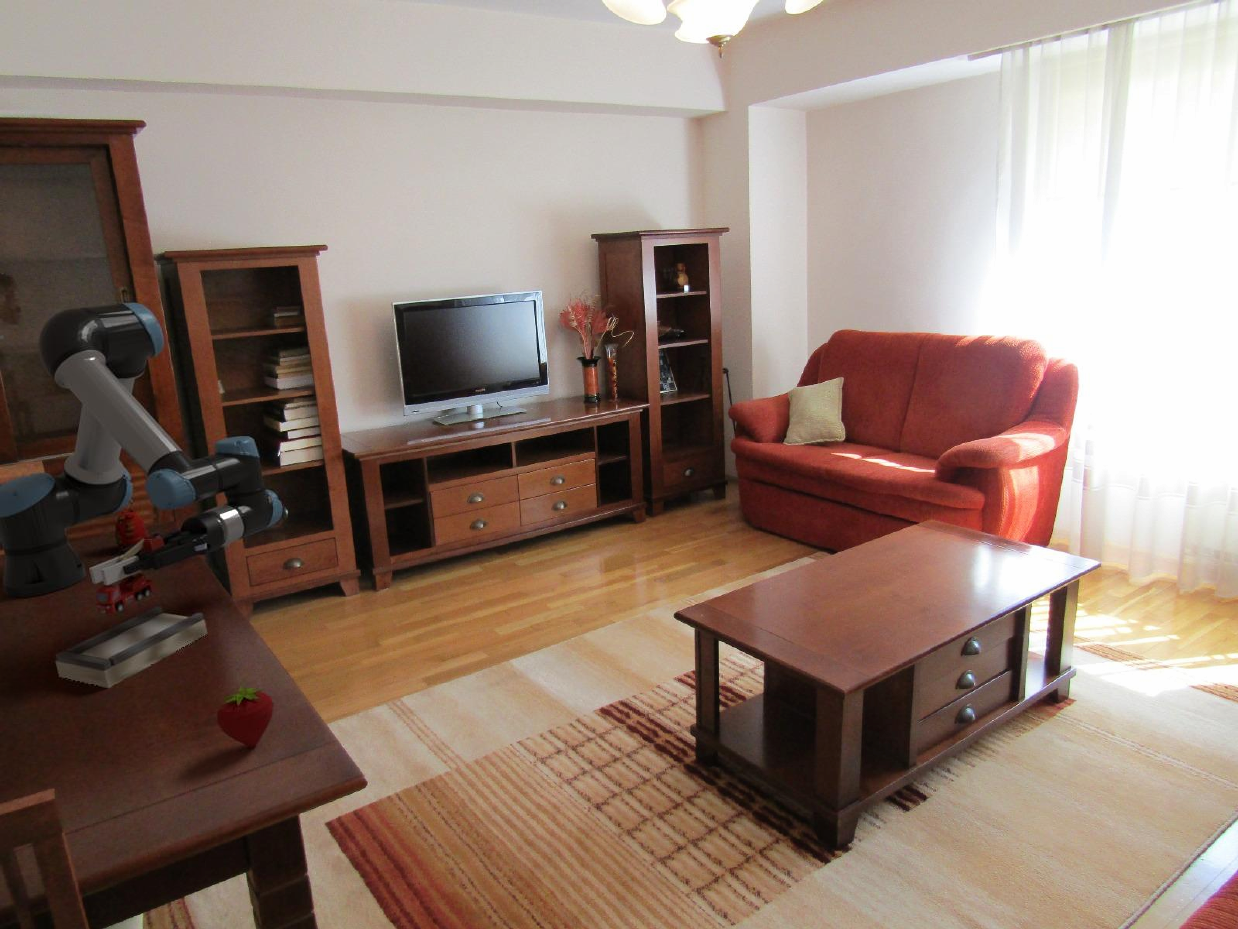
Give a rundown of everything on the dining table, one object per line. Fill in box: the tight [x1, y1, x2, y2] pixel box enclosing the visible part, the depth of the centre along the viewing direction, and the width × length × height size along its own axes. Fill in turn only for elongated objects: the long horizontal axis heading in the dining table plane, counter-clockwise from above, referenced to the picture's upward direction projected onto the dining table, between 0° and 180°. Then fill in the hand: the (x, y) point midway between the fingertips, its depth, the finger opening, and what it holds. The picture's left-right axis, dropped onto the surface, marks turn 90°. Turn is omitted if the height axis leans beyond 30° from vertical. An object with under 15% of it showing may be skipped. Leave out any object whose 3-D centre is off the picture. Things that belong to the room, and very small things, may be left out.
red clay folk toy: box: [114, 484, 150, 550], centre depth 209 cm, size 8×7×15 cm
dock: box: [55, 605, 208, 689], centre depth 153 cm, size 20×12×4 cm, turn 157°
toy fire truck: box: [95, 536, 164, 614], centre depth 151 cm, size 3×14×10 cm, turn 165°
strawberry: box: [216, 679, 275, 748], centre depth 122 cm, size 6×8×10 cm
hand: (98, 576), depth 146 cm, fingers closed on toy fire truck, 2 cm apart
